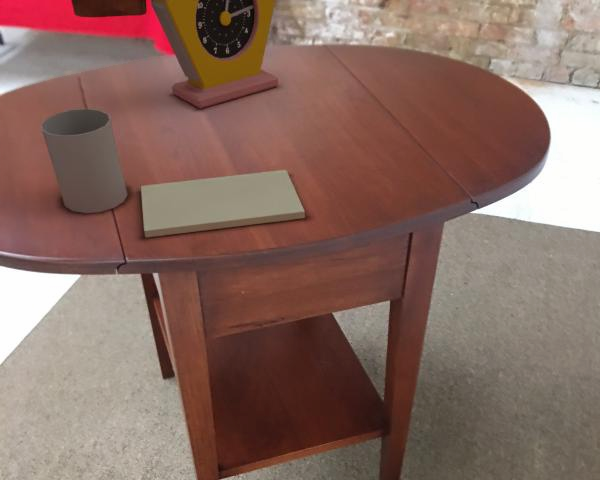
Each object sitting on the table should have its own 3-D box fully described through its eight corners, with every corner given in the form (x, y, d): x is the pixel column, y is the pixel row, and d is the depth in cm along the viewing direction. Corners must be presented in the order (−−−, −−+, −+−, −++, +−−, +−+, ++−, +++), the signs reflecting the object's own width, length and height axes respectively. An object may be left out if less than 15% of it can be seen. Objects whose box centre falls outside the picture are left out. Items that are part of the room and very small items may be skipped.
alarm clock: (186, 114, 105) (164, -42, 90) (158, 98, 110) (133, -52, 95) (291, 83, 114) (287, -63, 99) (261, 70, 119) (253, -71, 104)
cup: (95, 177, 89) (76, 104, 82) (139, 191, 86) (124, 116, 79) (50, 203, 84) (26, 127, 77) (96, 218, 81) (75, 141, 74)
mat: (145, 237, 77) (143, 230, 77) (142, 192, 86) (140, 185, 85) (304, 218, 80) (304, 211, 79) (286, 176, 88) (286, 169, 88)
